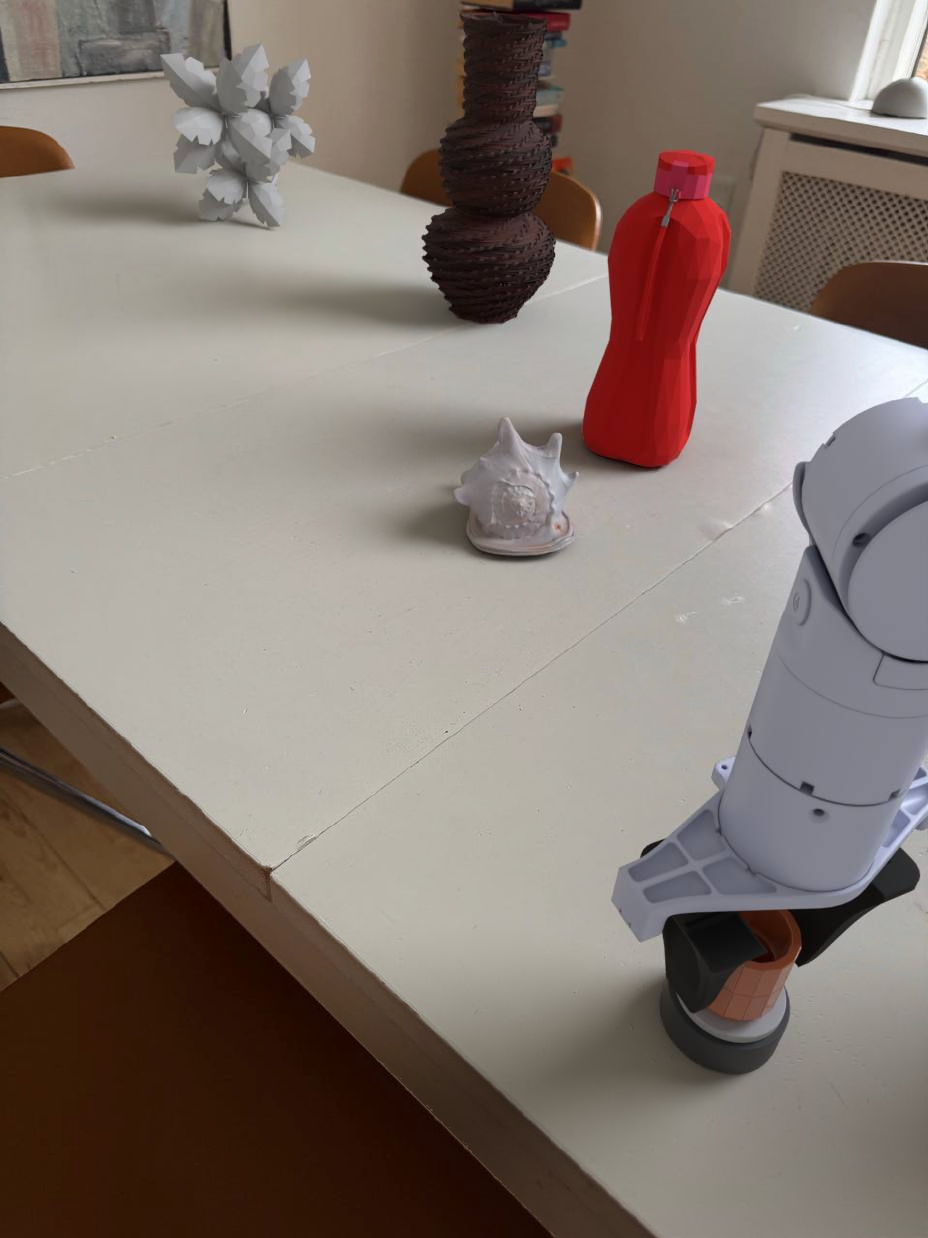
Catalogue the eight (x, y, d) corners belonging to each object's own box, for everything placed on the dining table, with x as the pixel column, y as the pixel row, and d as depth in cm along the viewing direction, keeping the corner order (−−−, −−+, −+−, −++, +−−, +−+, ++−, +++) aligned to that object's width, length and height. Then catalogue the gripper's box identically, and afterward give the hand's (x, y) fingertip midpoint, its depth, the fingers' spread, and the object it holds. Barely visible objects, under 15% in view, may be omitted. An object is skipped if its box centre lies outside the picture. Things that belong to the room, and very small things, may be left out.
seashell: (461, 567, 72) (469, 454, 66) (428, 487, 81) (433, 382, 75) (590, 556, 74) (608, 446, 68) (543, 479, 83) (556, 377, 78)
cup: (788, 977, 43) (815, 920, 41) (755, 1045, 41) (781, 989, 38) (706, 930, 45) (726, 872, 42) (668, 992, 42) (688, 935, 40)
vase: (561, 335, 110) (599, 30, 92) (428, 335, 108) (440, 21, 90) (533, 289, 122) (562, 11, 104) (412, 289, 120) (420, 3, 102)
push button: (795, 1006, 45) (810, 975, 43) (752, 1099, 41) (766, 1069, 40) (689, 944, 47) (700, 913, 46) (639, 1027, 44) (649, 996, 42)
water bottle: (563, 462, 86) (605, 158, 71) (601, 415, 94) (646, 133, 79) (664, 488, 83) (730, 178, 68) (694, 438, 91) (759, 151, 76)
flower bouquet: (368, 192, 154) (366, 40, 141) (261, 249, 128) (247, 69, 116) (271, 178, 158) (261, 29, 145) (149, 230, 133) (124, 54, 120)
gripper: (898, 632, 39) (806, 850, 47) (592, 722, 34) (547, 949, 42) (1045, 749, 34) (913, 969, 42) (713, 875, 29) (636, 1099, 37)
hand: (738, 968), depth 42 cm, fingers open, 5 cm apart
